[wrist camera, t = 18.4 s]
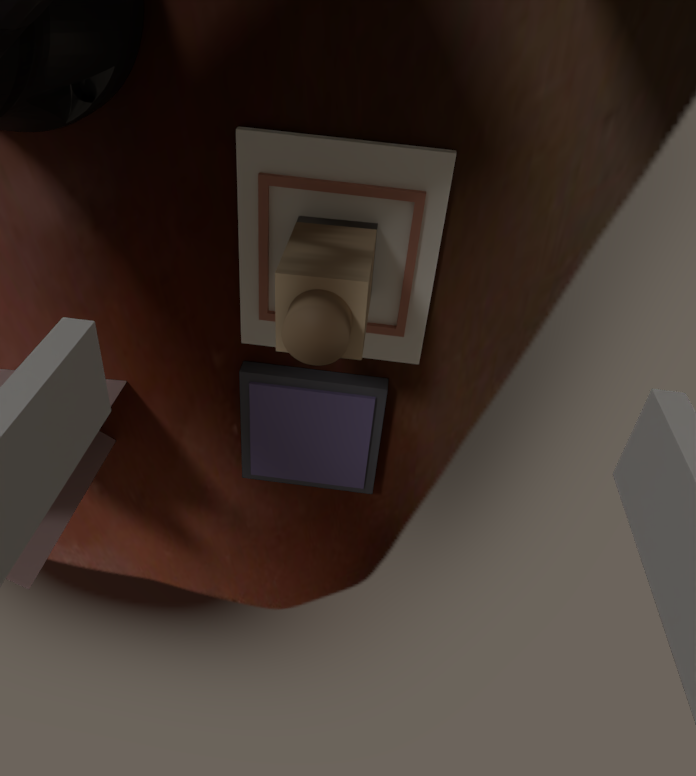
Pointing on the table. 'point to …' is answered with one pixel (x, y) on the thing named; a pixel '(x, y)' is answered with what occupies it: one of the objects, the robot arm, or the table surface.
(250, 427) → the ink pad
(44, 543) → the greeting card
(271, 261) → the print sheet
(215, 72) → the table surface
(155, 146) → the table surface
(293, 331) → the stamp
